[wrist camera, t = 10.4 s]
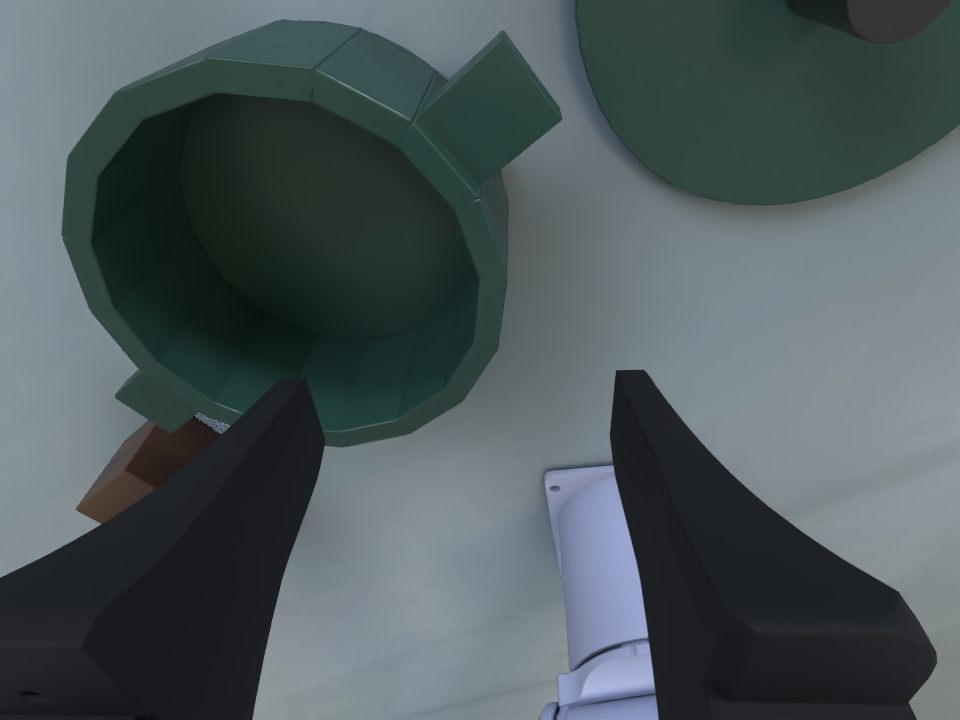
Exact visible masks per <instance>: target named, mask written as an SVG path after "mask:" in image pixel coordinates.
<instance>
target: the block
mask: <svg viewBox="0 0 960 720" xmlns="http://www.w3.org/2000/svg"><path fill="white" fill-rule="evenodd" d="M219 436H220V435H219V434H218V433H216V432H215V431H213V430H212V429H210V428H209V427H207V426H206V425H204V424H203V423H201V422H200V421H198V420H197V419H195V418H194V417H192V418H191V419H190V420H189V421H187V422H186V423H185V424H184V425H182V426H181V427H180V428H179V429H177V430H176V431H175V432H174V433H169V432H167V431H166V430H164V429H163V428H161V427H159V426H158V425H156V424H155V423H153V422H152V421H150V420H149V421H148V422H147V423H145V424H144V425H143V426H142V427H141V428H139V429H138V430H137V431H136V432H135V433H134V434H132V435H131V436H130V437H129V438H128V439H127V440H125V441H124V443H123V444H122V445H121V447H120V448H119V450H118V451H117V452H116V454H115V455H114V456H113V458H112V459H111V461H110V462H109V463H108V465H107V466H106V467H105V469H104V470H103V472H102V473H101V474H100V476H99V477H98V479H97V480H96V481H95V483H94V484H93V485H92V487H91V488H90V490H89V491H88V492H87V494H86V495H85V496H84V498H83V499H82V501H81V502H80V503H79V505H78V506H77V507H76V510H77V511H78V512H80V513H82V514H84V515H86V516H88V517H90V518H91V519H93V520H95V521H97V522H99V523H101V524H103V523H104V522H106V521H107V520H109V519H111V518H112V517H114V516H115V515H117V514H118V513H120V512H122V511H123V510H125V509H126V508H128V507H129V506H131V505H132V504H134V503H136V502H137V501H139V500H140V499H142V498H143V497H144V496H146V495H147V494H149V493H150V492H151V491H153V490H154V489H156V488H157V487H158V486H160V485H161V484H162V483H164V482H165V481H167V480H168V479H169V478H170V477H172V476H173V475H174V474H176V473H177V472H178V471H179V470H181V469H182V468H183V467H184V466H186V465H187V464H188V463H189V462H190V461H191V460H193V459H194V458H195V457H196V456H197V455H198V454H200V453H201V452H202V451H203V450H204V449H205V448H207V447H208V446H209V445H210V444H211V443H212V442H214V441H215V440H216V439H217V438H218V437H219Z"/></svg>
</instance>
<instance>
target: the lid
mask: <svg viewBox="0 0 960 720" xmlns="http://www.w3.org/2000/svg"><path fill="white" fill-rule="evenodd" d="M575 18H576V26H577V33H578V41H579V48H580V52H581V56H582V60H583V63H584V67H585V71H586V75H587V78H588V81H589V83H590V86H591V88H592V91H593V93H594V95H595V98H596V100H597V103H598V105H599V107H600V109H601V111H602V113H603V114H604V116H605V118H606V119H607V121H608V123H609V125H610V126H611V128H612V130H613V131H614V133H615V134H616V135H617V136H618V138H619V139H620V140H621V141H622V143H623V144H624V145H625V146H626V148H627V149H628V150H629V151H630V152H631V153H632V154H633V155H634V156H635V157H636V158H637V159H638V160H639V161H640V162H642V163H643V164H644V165H645V166H646V167H647V168H648V169H650V170H651V171H653V172H654V173H655V174H657V175H658V176H660V177H661V178H663V179H664V180H666V181H667V182H669V183H671V184H673V185H675V186H677V187H679V188H681V189H684V190H686V191H688V192H690V193H693V194H696V195H699V196H702V197H706V198H709V199H712V200H716V201H722V202H728V203H734V204H743V205H776V204H787V203H796V202H801V201H806V200H811V199H816V198H821V197H824V196H827V195H831V194H834V193H837V192H840V191H843V190H847V189H850V188H852V187H855V186H857V185H859V184H862V183H864V182H867V181H869V180H871V179H874V178H876V177H878V176H880V175H882V174H884V173H886V172H888V171H890V170H892V169H893V168H895V167H897V166H899V165H901V164H903V163H905V162H907V161H908V160H910V159H912V158H913V157H915V156H916V155H918V154H919V153H921V152H922V151H924V150H925V149H927V148H928V147H930V146H931V145H933V144H935V143H936V142H938V141H939V140H940V139H941V138H943V137H944V136H945V135H947V134H948V133H949V132H950V131H952V130H953V129H954V128H956V127H957V126H958V125H959V124H960V0H575Z"/></svg>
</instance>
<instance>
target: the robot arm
mask: <svg viewBox="0 0 960 720" xmlns="http://www.w3.org/2000/svg"><path fill="white" fill-rule="evenodd" d="M325 441H326V439H325V436H324V433H323V430H322V427H321V423H320V420H319V417H318V414H317V411H316V408H315V404H314V401H313V398H312V395H311V392H310V389H309V385H308V382H307V379H306V378H281V379H280V380H279V381H278V382H276V383H275V384H274V385H273V386H272V387H271V388H270V389H269V390H268V391H267V392H266V393H265V394H264V395H263V396H262V397H261V398H260V399H258V400H257V401H256V402H255V403H254V404H253V405H252V406H251V407H250V408H249V409H248V410H247V411H246V412H245V413H244V414H243V415H242V416H241V417H240V418H239V419H238V420H236V421H235V422H234V423H233V424H232V425H231V426H230V427H229V428H228V429H227V430H226V431H225V432H224V433H223V434H222V435H220V436H219V437H218V438H217V439H216V440H215V441H214V442H212V443H211V444H210V445H209V446H208V447H207V448H205V449H204V450H203V451H202V452H201V453H200V454H198V455H197V456H196V457H195V458H194V459H193V460H191V461H190V462H189V463H188V464H187V465H186V466H184V467H183V468H182V469H181V470H179V471H178V472H177V473H176V474H174V475H173V476H172V477H170V478H169V479H168V480H167V481H165V482H164V483H162V484H161V485H160V486H158V487H157V488H156V489H154V490H153V491H151V492H150V493H149V494H147V495H146V496H144V497H143V498H142V499H140V500H139V501H137V502H136V503H134V504H132V505H131V506H129V507H128V508H126V509H125V510H123V511H122V512H120V513H118V514H117V515H115V516H114V517H112V518H111V519H109V520H107V521H106V522H104V523H103V524H101V525H100V526H98V527H96V528H95V529H93V530H91V531H89V532H88V533H86V534H84V535H83V536H81V537H79V538H77V539H76V540H74V541H72V542H70V543H68V544H67V545H65V546H63V547H61V548H59V549H57V550H55V551H54V552H52V553H50V554H48V555H46V556H44V557H42V558H40V559H38V560H36V561H34V562H32V563H30V564H28V565H26V566H24V567H22V568H20V569H18V570H16V571H14V572H11V573H9V574H7V575H5V576H3V577H1V578H0V720H252V718H253V712H254V706H255V701H256V696H257V691H258V685H259V680H260V675H261V670H262V665H263V659H264V655H265V650H266V646H267V641H268V637H269V632H270V627H271V623H272V618H273V614H274V610H275V606H276V602H277V598H278V594H279V590H280V586H281V582H282V578H283V575H284V572H285V569H286V565H287V562H288V559H289V556H290V554H291V551H292V548H293V545H294V543H295V540H296V537H297V534H298V532H299V529H300V526H301V523H302V521H303V518H304V515H305V513H306V510H307V507H308V504H309V501H310V499H311V496H312V493H313V490H314V487H315V484H316V481H317V478H318V474H319V470H320V466H321V461H322V456H323V451H324V446H325ZM610 441H611V449H612V458H613V465H612V466H601V467H590V468H578V469H567V470H555V471H549V472H547V473H546V474H545V475H544V484H545V490H546V496H547V502H548V508H549V514H550V520H551V526H552V532H553V537H554V543H555V549H556V555H557V561H558V567H559V573H560V577H561V579H562V580H563V589H564V602H565V616H566V629H567V642H568V656H569V669H570V672H569V673H566V674H561V675H558V676H557V684H558V701H559V702H551V703H548V704H547V705H546V706H545V707H544V708H543V710H542V712H541V714H540V716H539V720H917V719H916V717H915V715H914V713H913V711H912V709H911V707H910V705H909V703H908V702H909V701H910V700H911V698H912V697H913V696H914V695H915V694H916V693H917V691H918V690H919V689H920V688H921V687H922V685H923V684H924V683H925V682H926V681H927V680H928V678H929V677H930V675H931V673H932V672H933V670H934V668H935V666H936V664H937V655H936V651H935V649H934V647H933V646H932V644H931V642H930V640H929V638H928V637H927V635H926V633H925V631H924V629H923V628H922V626H921V624H920V623H919V621H918V620H917V618H916V616H915V615H914V613H913V612H912V611H911V609H910V608H909V606H908V605H907V604H906V602H905V601H904V599H903V598H902V596H901V595H900V593H899V592H898V591H896V590H895V589H893V588H891V587H889V586H888V585H886V584H884V583H883V582H881V581H879V580H877V579H876V578H874V577H872V576H870V575H869V574H867V573H865V572H864V571H862V570H860V569H858V568H857V567H855V566H853V565H852V564H850V563H848V562H847V561H845V560H843V559H842V558H840V557H839V556H837V555H836V554H834V553H833V552H831V551H830V550H828V549H826V548H825V547H823V546H822V545H820V544H819V543H817V542H816V541H814V540H813V539H811V538H810V537H809V536H807V535H806V534H804V533H803V532H802V531H800V530H799V529H797V528H796V527H795V526H793V525H792V524H791V523H790V522H788V521H787V520H786V519H784V518H783V517H782V516H780V515H779V514H778V513H776V512H775V511H774V510H772V509H771V508H770V507H768V506H767V505H766V504H765V503H764V502H762V501H761V500H760V499H759V498H758V497H756V496H755V495H754V494H753V493H752V492H751V491H750V490H748V489H747V488H746V487H745V486H744V485H743V484H742V483H741V482H740V481H738V480H737V479H736V478H735V477H734V476H733V475H732V474H731V473H730V472H729V471H728V470H727V469H726V468H725V467H724V466H723V465H722V464H721V463H720V462H719V461H718V460H717V459H716V458H715V457H714V456H713V455H712V454H711V453H710V451H709V450H708V449H707V448H706V447H705V446H704V445H703V444H702V443H701V442H700V441H699V439H698V438H697V437H696V436H695V435H694V434H693V432H692V431H691V430H690V429H689V428H688V426H687V425H686V424H685V423H684V422H683V421H682V419H681V418H680V417H679V416H678V414H677V413H676V412H675V411H674V409H673V408H672V407H671V405H670V404H669V403H668V401H667V400H666V399H665V398H664V396H663V395H662V393H661V392H660V391H659V389H658V388H657V386H656V385H655V384H654V382H653V381H652V379H651V378H650V376H649V375H648V374H647V373H646V372H645V371H644V370H616V376H615V387H614V397H613V408H612V418H611V429H610Z"/></svg>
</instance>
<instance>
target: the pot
mask: <svg viewBox="0 0 960 720" xmlns="http://www.w3.org/2000/svg"><path fill="white" fill-rule="evenodd" d="M561 120H562V116H561V112H560V108H559V106H558V105H557V103H556V102H555V101H554V99H553V98H552V97H551V95H550V94H549V92H548V91H547V90H546V88H545V87H544V85H543V84H542V83H541V81H540V80H539V78H538V77H537V76H536V74H535V73H534V72H533V70H532V69H531V67H530V66H529V65H528V63H527V62H526V60H525V59H524V58H523V56H522V55H521V53H520V52H519V51H518V49H517V48H516V47H515V45H514V44H513V42H512V41H511V40H510V38H509V37H508V35H507V34H506V33H505V31H501V32H500V33H499V34H498V35H497V36H496V37H495V38H494V39H492V40H491V41H490V42H489V43H488V44H487V45H486V46H485V47H484V48H483V49H482V50H481V51H480V52H479V53H477V54H476V55H475V56H474V57H473V58H472V59H471V60H470V61H469V62H468V63H467V64H466V65H465V66H464V67H462V68H461V69H460V70H459V71H458V72H457V73H456V74H455V75H454V76H453V77H452V78H451V79H450V80H448V81H447V80H446V79H445V78H444V77H443V76H441V75H440V74H439V73H438V72H437V71H436V70H435V69H434V68H432V67H431V66H430V65H428V64H427V63H426V62H425V61H423V60H422V59H420V58H419V57H417V56H416V55H414V54H413V53H411V52H410V51H408V50H406V49H405V48H403V47H402V46H400V45H398V44H396V43H393V42H391V41H389V40H387V39H385V38H383V37H381V36H379V35H377V34H374V33H370V32H368V31H366V30H362V28H359V27H352V26H347V25H341V24H336V23H330V22H323V21H291V20H279V21H275V22H272V23H269V24H267V25H264V26H262V27H259V28H257V29H254V30H251V31H248V32H246V33H244V34H241V35H239V36H236V37H233V38H231V39H228V40H226V41H223V42H221V43H218V44H215V45H213V46H211V47H208V48H206V49H204V50H202V51H200V52H198V53H195V54H193V55H191V56H189V57H187V58H185V59H183V60H180V61H178V62H176V63H174V64H172V65H170V66H168V67H165V68H163V69H161V70H159V71H157V72H155V73H152V74H150V75H148V76H146V77H144V78H142V79H140V80H137V81H135V82H133V83H131V84H129V85H127V86H124V87H122V88H120V90H118V91H116V92H115V93H114V94H113V95H112V97H111V98H110V99H109V101H108V102H107V104H106V105H105V106H104V108H103V109H102V110H101V112H100V113H99V114H98V116H97V117H96V118H95V120H94V121H93V122H92V124H91V125H90V127H89V128H88V129H87V131H86V132H85V133H84V135H83V136H82V137H81V139H80V140H79V141H78V143H77V144H76V146H75V147H74V148H73V150H72V151H71V152H70V154H69V155H68V159H67V169H66V182H65V195H64V208H63V221H62V236H63V241H64V244H65V247H66V249H67V252H68V254H69V257H70V260H71V262H72V265H73V268H74V270H75V273H76V275H77V278H78V281H79V283H80V286H81V288H82V291H83V294H84V296H85V299H86V301H87V304H88V307H89V309H90V310H91V313H92V314H93V315H94V316H95V317H96V319H97V320H98V321H99V322H100V323H101V325H102V326H103V327H104V328H105V329H106V331H107V332H108V333H109V334H110V335H111V336H112V338H113V339H114V340H115V341H116V342H117V344H118V345H119V346H120V347H121V348H122V350H123V351H124V352H125V353H126V354H127V355H128V357H129V358H130V359H131V360H132V361H133V363H134V364H135V365H136V366H137V367H138V369H139V370H137V371H136V372H135V373H134V374H133V375H132V376H131V377H130V378H129V379H128V380H127V381H126V382H125V383H124V385H123V386H122V387H121V388H120V389H119V391H118V392H117V393H116V394H115V398H116V399H118V400H119V401H121V402H122V403H124V404H125V405H127V406H128V407H130V408H132V409H133V410H135V411H136V412H138V413H139V414H141V415H142V416H144V417H145V418H147V419H149V420H150V421H152V422H153V423H155V424H156V425H158V426H159V427H161V428H163V429H164V430H166V431H167V432H169V433H174V432H175V431H176V430H177V429H179V428H180V427H181V426H182V425H184V424H185V423H186V422H187V421H189V420H190V419H191V418H192V417H193V416H195V415H196V414H197V413H198V412H201V413H202V414H204V415H206V416H207V417H209V418H212V419H215V420H218V421H220V422H223V423H226V424H229V425H232V424H233V423H234V422H235V421H236V420H238V419H239V418H240V417H241V416H242V415H243V414H244V413H245V412H246V411H247V410H248V409H249V408H250V407H251V406H252V405H253V404H254V403H255V402H256V401H257V400H258V399H260V398H261V397H262V396H263V395H264V394H265V393H266V392H267V391H268V390H269V389H270V388H271V387H272V386H273V385H274V384H275V383H276V382H278V381H279V380H280V379H281V378H306V379H307V382H308V385H309V389H310V392H311V395H312V398H313V401H314V404H315V408H316V411H317V414H318V417H319V420H320V423H321V427H322V430H323V433H324V436H325V439H326V441H325V446H333V447H349V446H354V445H358V444H363V443H368V442H373V441H378V440H383V439H388V438H393V437H398V436H403V435H407V434H410V433H412V432H414V431H415V430H417V429H418V428H420V427H422V426H423V425H425V424H427V423H428V422H430V421H431V420H433V419H435V418H436V417H438V416H440V415H441V414H443V413H445V412H446V411H448V410H449V409H451V408H453V407H454V406H456V405H458V404H459V403H461V401H463V400H464V399H465V397H466V396H467V394H468V393H469V391H470V390H471V388H472V387H473V385H474V384H475V382H476V381H477V379H478V378H479V376H480V375H481V373H482V372H483V371H484V369H485V368H486V366H487V365H488V363H489V362H490V360H491V359H492V357H493V356H494V354H495V353H496V351H497V350H498V347H499V339H500V332H501V324H502V316H503V308H504V300H505V293H506V285H507V253H508V199H507V196H506V192H505V189H504V186H503V181H502V177H501V173H500V169H502V168H503V167H504V166H505V165H507V164H508V163H509V162H510V161H512V160H513V159H514V158H515V157H517V156H518V155H519V154H520V153H522V152H523V151H524V150H525V149H527V148H528V147H529V146H530V145H531V144H533V143H534V142H535V141H536V140H538V139H539V138H540V137H541V136H543V135H544V134H545V133H546V132H548V131H549V130H550V129H551V128H553V127H554V126H555V125H556V124H558V123H559V122H560V121H561Z"/></svg>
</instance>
